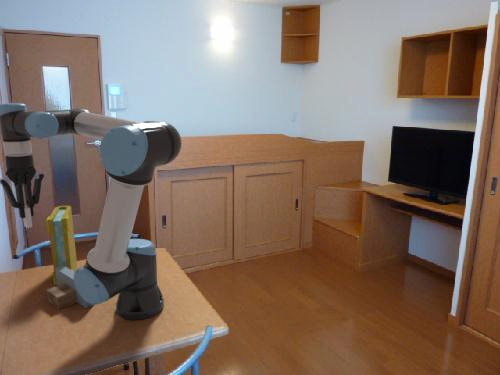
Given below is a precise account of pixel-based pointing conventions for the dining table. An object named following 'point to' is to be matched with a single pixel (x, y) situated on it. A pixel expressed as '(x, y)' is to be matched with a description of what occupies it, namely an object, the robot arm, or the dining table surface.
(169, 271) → the dining table surface
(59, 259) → the yellow rounded trough
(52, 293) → the brown rectangular block
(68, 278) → the slate board
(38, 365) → the dining table surface
